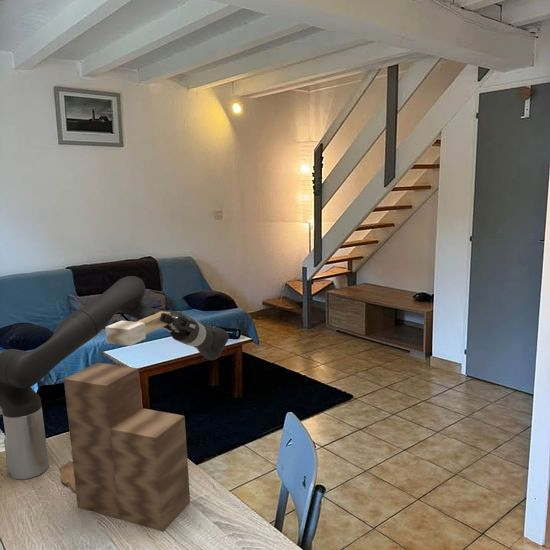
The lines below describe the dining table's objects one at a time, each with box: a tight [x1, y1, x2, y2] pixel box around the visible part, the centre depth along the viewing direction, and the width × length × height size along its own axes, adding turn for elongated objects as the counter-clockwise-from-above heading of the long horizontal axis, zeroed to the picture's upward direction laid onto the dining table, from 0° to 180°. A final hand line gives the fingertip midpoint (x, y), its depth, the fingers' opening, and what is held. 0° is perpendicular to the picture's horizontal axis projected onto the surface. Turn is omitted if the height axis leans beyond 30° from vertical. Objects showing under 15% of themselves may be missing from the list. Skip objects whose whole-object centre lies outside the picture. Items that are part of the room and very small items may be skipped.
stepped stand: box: [63, 362, 191, 532], centre depth 120 cm, size 24×11×32 cm, turn 67°
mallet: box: [104, 311, 171, 347], centre depth 133 cm, size 7×20×4 cm, turn 157°
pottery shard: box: [58, 460, 76, 494], centre depth 135 cm, size 8×16×2 cm, turn 29°
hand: (156, 316), depth 137 cm, fingers closed on mallet, 3 cm apart
